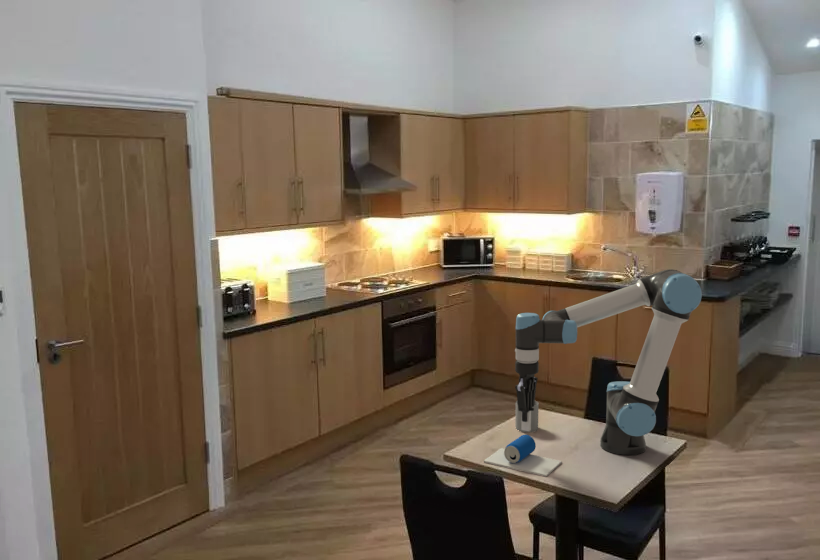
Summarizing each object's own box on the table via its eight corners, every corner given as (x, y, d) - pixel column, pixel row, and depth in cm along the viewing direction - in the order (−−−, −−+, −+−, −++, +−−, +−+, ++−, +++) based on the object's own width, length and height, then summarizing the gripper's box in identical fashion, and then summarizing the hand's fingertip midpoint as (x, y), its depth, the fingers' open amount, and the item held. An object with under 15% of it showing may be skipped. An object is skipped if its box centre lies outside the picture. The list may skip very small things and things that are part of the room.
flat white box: (561, 462, 236) (561, 461, 236) (546, 476, 225) (546, 474, 225) (501, 449, 247) (501, 447, 247) (483, 462, 237) (483, 460, 237)
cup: (539, 432, 264) (539, 406, 262) (517, 432, 264) (517, 406, 262) (536, 424, 272) (536, 399, 271) (514, 424, 272) (514, 399, 271)
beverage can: (522, 453, 245) (506, 465, 235) (516, 435, 245) (500, 446, 235) (539, 451, 241) (523, 463, 231) (533, 432, 241) (517, 443, 231)
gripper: (524, 354, 241) (523, 422, 244) (507, 363, 230) (507, 433, 233) (545, 357, 237) (544, 426, 240) (529, 366, 226) (528, 438, 229)
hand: (526, 429), depth 237 cm, fingers closed
